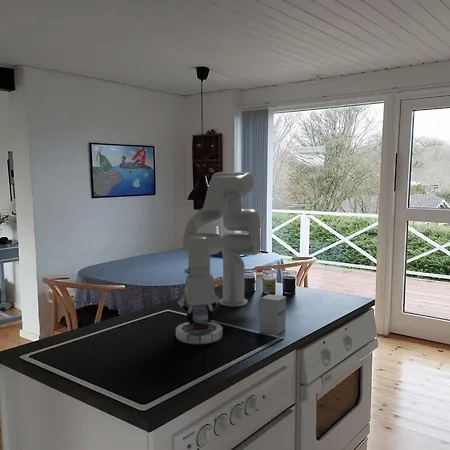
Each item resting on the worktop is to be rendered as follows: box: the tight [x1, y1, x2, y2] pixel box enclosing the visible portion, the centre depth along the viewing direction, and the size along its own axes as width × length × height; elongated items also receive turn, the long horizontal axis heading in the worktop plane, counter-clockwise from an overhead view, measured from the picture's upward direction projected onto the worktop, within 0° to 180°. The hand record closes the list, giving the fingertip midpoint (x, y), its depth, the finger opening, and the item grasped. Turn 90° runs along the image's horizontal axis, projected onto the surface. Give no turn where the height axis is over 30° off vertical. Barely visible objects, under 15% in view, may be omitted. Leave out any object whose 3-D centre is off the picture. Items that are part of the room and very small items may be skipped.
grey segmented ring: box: [175, 321, 224, 345], centre depth 160 cm, size 16×16×3 cm
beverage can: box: [191, 305, 209, 331], centre depth 160 cm, size 6×7×12 cm
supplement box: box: [259, 294, 287, 336], centre depth 166 cm, size 7×7×13 cm
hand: (199, 321), depth 160 cm, fingers closed on beverage can, 6 cm apart
